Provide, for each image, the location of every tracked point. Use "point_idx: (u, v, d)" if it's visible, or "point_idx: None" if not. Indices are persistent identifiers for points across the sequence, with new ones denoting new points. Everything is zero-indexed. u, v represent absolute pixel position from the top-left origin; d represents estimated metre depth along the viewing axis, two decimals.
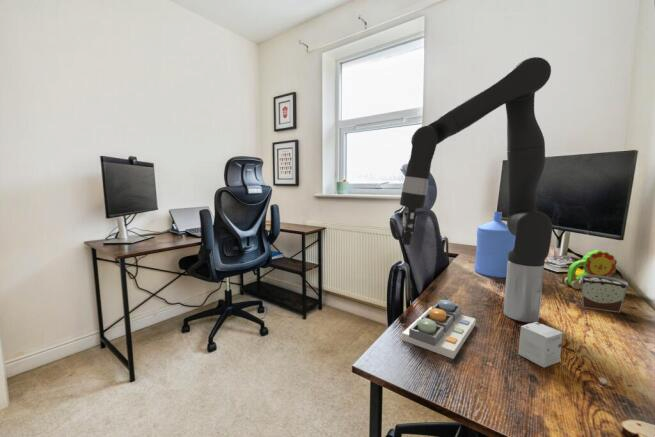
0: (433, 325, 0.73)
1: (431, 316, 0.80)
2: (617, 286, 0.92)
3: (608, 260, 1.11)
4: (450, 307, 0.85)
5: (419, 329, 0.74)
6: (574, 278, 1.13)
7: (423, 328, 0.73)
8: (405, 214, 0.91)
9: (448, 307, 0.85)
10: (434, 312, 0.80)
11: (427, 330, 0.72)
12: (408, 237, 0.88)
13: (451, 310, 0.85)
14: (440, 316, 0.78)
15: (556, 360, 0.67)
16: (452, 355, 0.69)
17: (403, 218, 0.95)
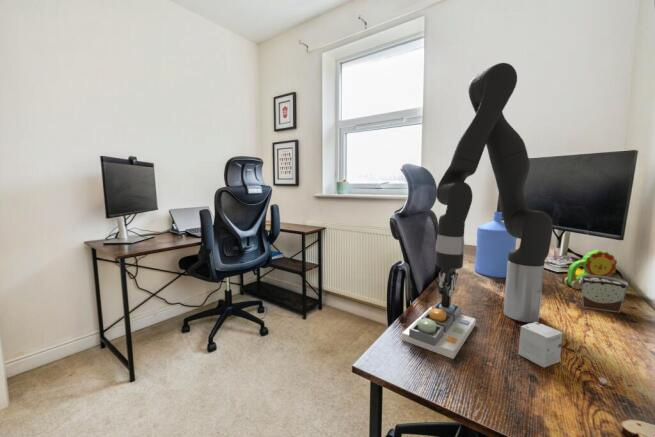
0: (433, 325, 0.73)
1: (431, 316, 0.80)
2: (617, 286, 0.93)
3: (608, 260, 1.11)
4: (450, 311, 0.85)
5: (419, 329, 0.74)
6: (574, 278, 1.13)
7: (423, 328, 0.73)
8: (440, 275, 0.85)
9: (448, 311, 0.85)
10: (434, 312, 0.80)
11: (427, 330, 0.72)
12: (445, 300, 0.85)
13: None
14: (440, 316, 0.78)
15: (556, 360, 0.67)
16: (452, 355, 0.69)
17: None
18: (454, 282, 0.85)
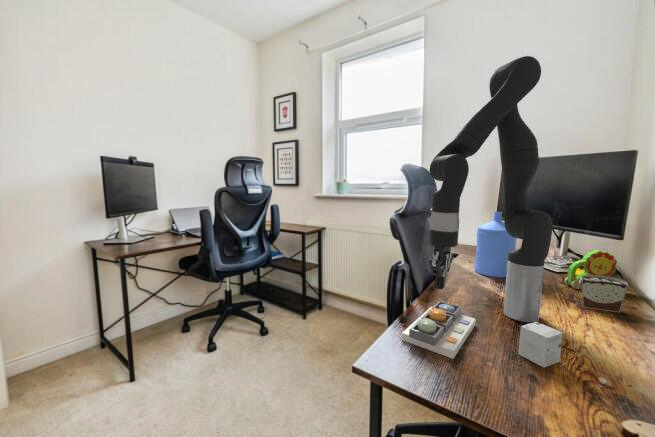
0: (433, 325, 0.73)
1: (431, 316, 0.80)
2: (617, 286, 0.93)
3: (608, 260, 1.11)
4: (450, 311, 0.85)
5: (419, 329, 0.74)
6: (574, 278, 1.13)
7: (423, 328, 0.73)
8: (434, 255, 0.81)
9: None
10: (434, 312, 0.80)
11: (427, 330, 0.72)
12: (439, 281, 0.81)
13: None
14: (440, 316, 0.78)
15: (556, 360, 0.67)
16: (452, 355, 0.69)
17: None
18: (449, 262, 0.81)
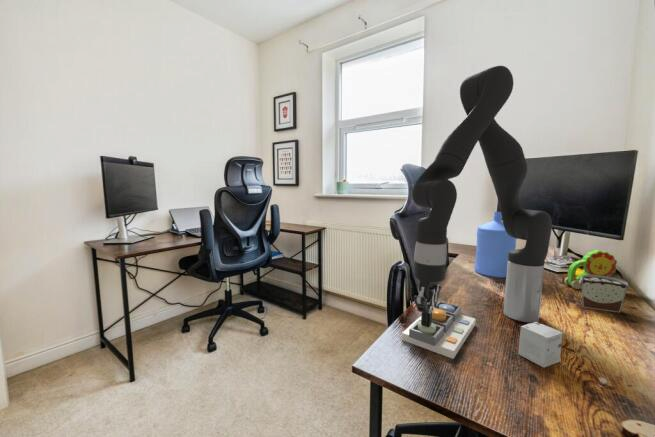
0: (433, 327, 0.73)
1: None
2: (617, 286, 0.92)
3: (608, 260, 1.11)
4: (450, 311, 0.85)
5: None
6: (574, 278, 1.13)
7: (423, 330, 0.73)
8: (419, 289, 0.73)
9: None
10: (434, 312, 0.80)
11: (427, 332, 0.73)
12: (425, 318, 0.73)
13: None
14: (440, 316, 0.78)
15: (556, 360, 0.67)
16: (452, 355, 0.69)
17: None
18: (436, 297, 0.73)
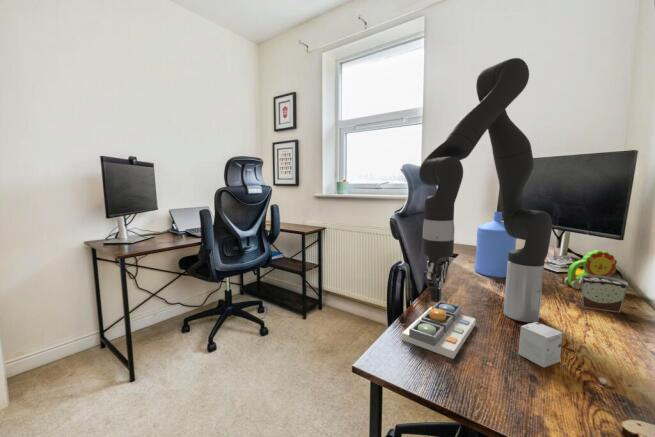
0: (433, 330, 0.73)
1: (431, 316, 0.80)
2: (617, 286, 0.93)
3: (608, 260, 1.11)
4: (450, 311, 0.85)
5: None
6: (574, 278, 1.13)
7: None
8: None
9: None
10: (434, 312, 0.80)
11: None
12: (435, 294, 0.75)
13: None
14: (440, 316, 0.78)
15: (556, 360, 0.67)
16: (452, 355, 0.69)
17: None
18: (444, 273, 0.75)
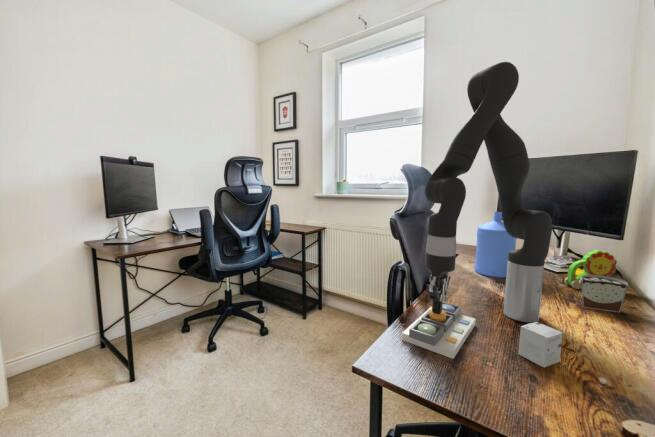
0: (433, 330, 0.73)
1: (431, 316, 0.80)
2: (617, 286, 0.92)
3: (608, 260, 1.11)
4: (450, 311, 0.85)
5: None
6: (574, 278, 1.13)
7: None
8: (430, 279, 0.79)
9: None
10: None
11: None
12: (436, 305, 0.79)
13: None
14: (440, 317, 0.78)
15: (556, 360, 0.67)
16: (452, 355, 0.69)
17: None
18: (446, 286, 0.79)
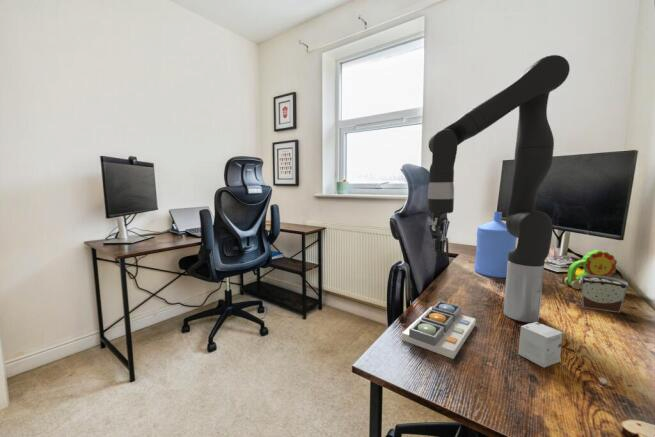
0: (433, 330, 0.73)
1: None
2: (617, 286, 0.93)
3: (608, 260, 1.11)
4: (450, 311, 0.85)
5: None
6: (574, 278, 1.13)
7: None
8: (432, 222, 0.90)
9: None
10: (434, 317, 0.80)
11: None
12: (438, 245, 0.90)
13: None
14: (440, 321, 0.79)
15: (556, 360, 0.67)
16: (452, 355, 0.69)
17: None
18: (446, 227, 0.91)
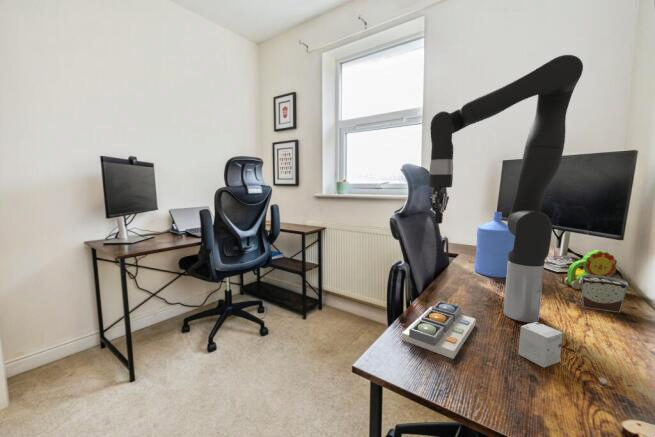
0: (433, 330, 0.73)
1: None
2: (617, 286, 0.93)
3: (608, 260, 1.11)
4: (450, 311, 0.85)
5: None
6: (574, 278, 1.13)
7: None
8: None
9: None
10: (434, 317, 0.80)
11: None
12: (438, 216, 1.00)
13: None
14: (440, 321, 0.79)
15: (556, 360, 0.67)
16: (452, 355, 0.69)
17: None
18: (445, 201, 1.00)
